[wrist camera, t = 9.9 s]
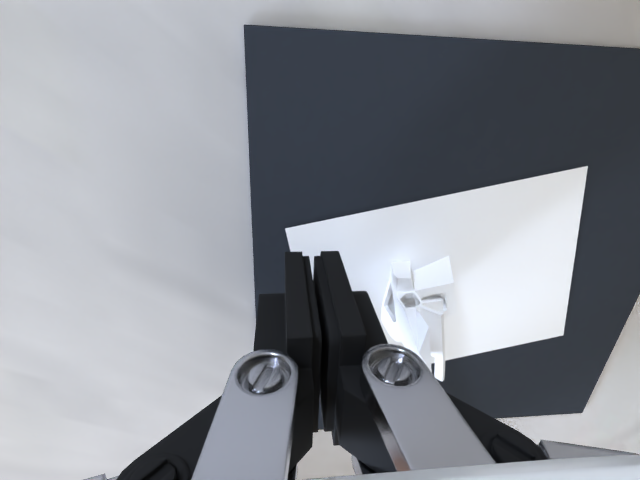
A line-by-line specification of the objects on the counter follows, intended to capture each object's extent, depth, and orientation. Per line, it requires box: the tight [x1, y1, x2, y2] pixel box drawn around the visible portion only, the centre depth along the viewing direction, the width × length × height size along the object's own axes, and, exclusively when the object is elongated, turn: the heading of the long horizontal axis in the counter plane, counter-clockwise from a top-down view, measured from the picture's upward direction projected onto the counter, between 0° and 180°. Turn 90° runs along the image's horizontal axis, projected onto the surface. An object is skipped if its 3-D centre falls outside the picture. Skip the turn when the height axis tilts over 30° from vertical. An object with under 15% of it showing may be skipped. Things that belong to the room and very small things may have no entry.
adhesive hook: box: [379, 255, 458, 381], centre depth 11 cm, size 3×3×3 cm
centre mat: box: [244, 25, 640, 429], centre depth 13 cm, size 15×15×1 cm
